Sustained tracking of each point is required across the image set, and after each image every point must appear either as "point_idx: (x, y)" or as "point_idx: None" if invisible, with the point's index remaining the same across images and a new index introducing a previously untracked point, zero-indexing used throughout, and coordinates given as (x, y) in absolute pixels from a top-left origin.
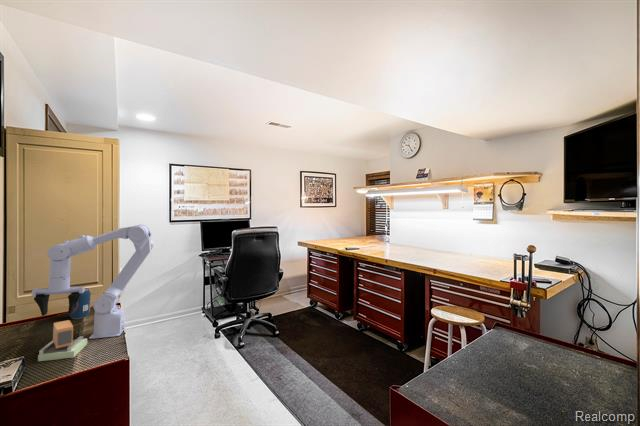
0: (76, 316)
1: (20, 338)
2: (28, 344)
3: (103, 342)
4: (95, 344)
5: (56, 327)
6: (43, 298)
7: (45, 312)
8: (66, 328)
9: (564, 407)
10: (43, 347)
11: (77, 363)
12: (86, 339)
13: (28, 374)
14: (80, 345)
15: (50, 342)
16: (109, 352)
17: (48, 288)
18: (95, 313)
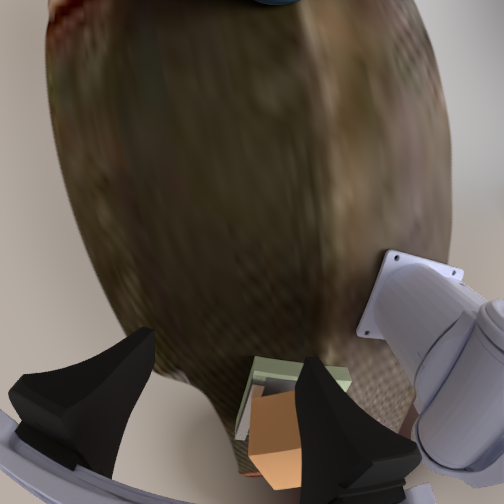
0: (267, 1)
1: (100, 191)
2: (152, 282)
3: (387, 370)
4: (366, 377)
5: (269, 481)
6: (107, 467)
7: (149, 359)
8: (299, 484)
9: None
10: (238, 428)
11: None
12: (348, 384)
13: (238, 451)
14: None
15: (247, 407)
16: (382, 422)
17: (43, 489)
18: (415, 381)
